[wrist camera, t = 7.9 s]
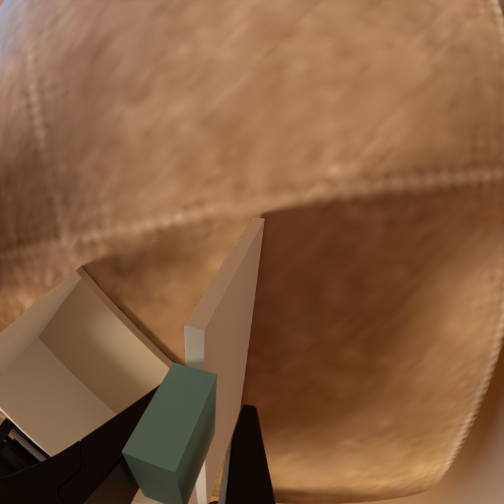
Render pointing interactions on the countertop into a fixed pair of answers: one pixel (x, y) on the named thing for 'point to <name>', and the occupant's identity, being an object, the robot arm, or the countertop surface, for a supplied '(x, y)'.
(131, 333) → the carton
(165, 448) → the carton flap
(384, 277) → the countertop surface
